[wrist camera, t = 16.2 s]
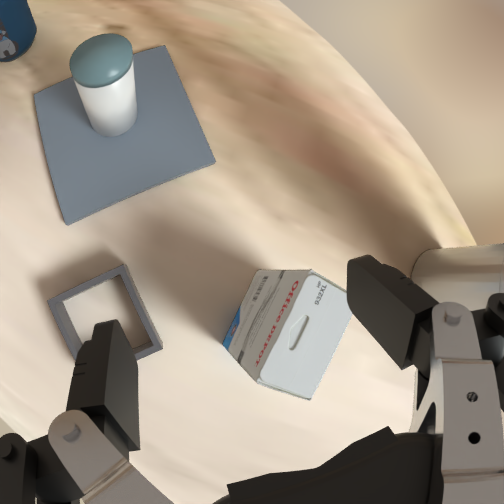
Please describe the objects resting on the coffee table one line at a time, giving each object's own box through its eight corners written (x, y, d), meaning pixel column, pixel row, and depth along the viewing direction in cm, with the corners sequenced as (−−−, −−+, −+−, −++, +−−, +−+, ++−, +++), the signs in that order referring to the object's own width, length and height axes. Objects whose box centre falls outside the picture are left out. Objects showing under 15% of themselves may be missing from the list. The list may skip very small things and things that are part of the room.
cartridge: (128, 88, 28) (122, 26, 19) (144, 124, 29) (140, 65, 19) (85, 107, 27) (64, 49, 17) (98, 144, 27) (77, 91, 18)
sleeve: (126, 264, 29) (123, 264, 26) (162, 342, 29) (162, 348, 27) (55, 298, 26) (47, 300, 24) (91, 373, 27) (86, 381, 24)
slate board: (164, 49, 30) (165, 45, 30) (214, 163, 31) (215, 161, 31) (35, 98, 26) (33, 94, 25) (67, 225, 27) (65, 224, 26)
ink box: (261, 362, 32) (312, 404, 21) (219, 344, 31) (253, 383, 19) (297, 289, 33) (363, 297, 22) (257, 267, 32) (309, 267, 21)
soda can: (28, 20, 25) (8, -38, 14) (46, 40, 26) (25, -24, 15) (-12, 51, 23) (-43, -1, 12) (3, 75, 25) (-32, 18, 13)
